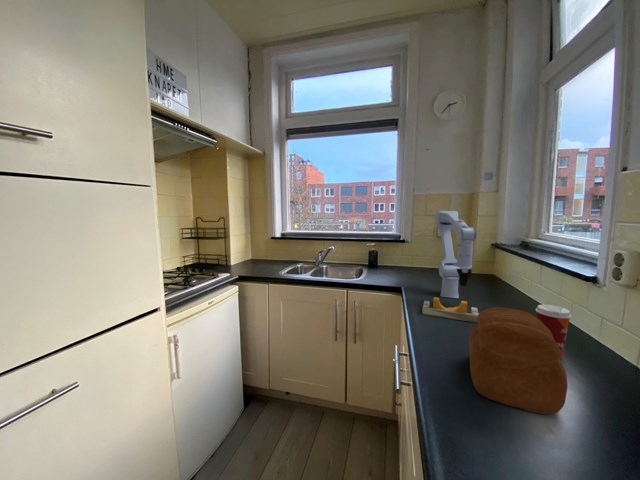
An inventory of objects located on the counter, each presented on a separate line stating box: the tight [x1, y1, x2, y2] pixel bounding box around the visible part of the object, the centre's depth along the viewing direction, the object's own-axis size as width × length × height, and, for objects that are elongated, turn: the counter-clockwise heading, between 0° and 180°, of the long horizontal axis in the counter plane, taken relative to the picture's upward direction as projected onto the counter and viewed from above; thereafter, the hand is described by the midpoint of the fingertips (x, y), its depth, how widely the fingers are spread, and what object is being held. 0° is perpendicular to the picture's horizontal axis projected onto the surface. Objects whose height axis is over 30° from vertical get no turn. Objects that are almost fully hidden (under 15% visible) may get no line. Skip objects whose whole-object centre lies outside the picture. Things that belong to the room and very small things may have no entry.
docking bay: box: [421, 300, 480, 324], centre depth 106 cm, size 10×20×2 cm, turn 63°
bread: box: [468, 306, 568, 415], centre depth 62 cm, size 18×22×17 cm
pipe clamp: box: [432, 296, 468, 313], centre depth 105 cm, size 12×4×6 cm, turn 63°
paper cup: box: [535, 304, 572, 361], centre depth 74 cm, size 8×8×14 cm
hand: (463, 285), depth 114 cm, fingers closed
